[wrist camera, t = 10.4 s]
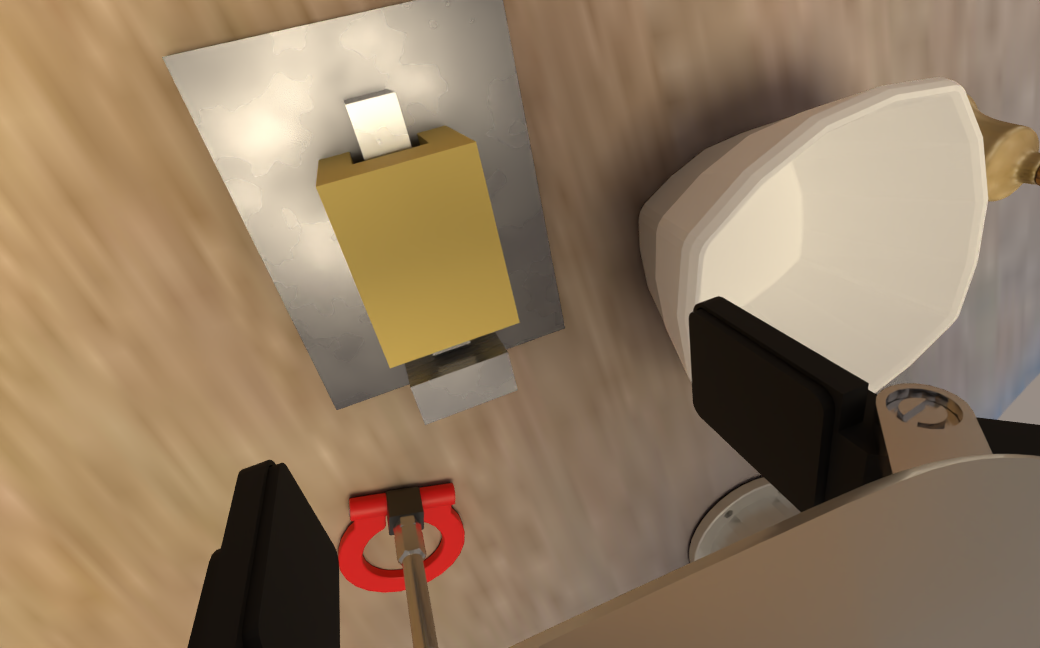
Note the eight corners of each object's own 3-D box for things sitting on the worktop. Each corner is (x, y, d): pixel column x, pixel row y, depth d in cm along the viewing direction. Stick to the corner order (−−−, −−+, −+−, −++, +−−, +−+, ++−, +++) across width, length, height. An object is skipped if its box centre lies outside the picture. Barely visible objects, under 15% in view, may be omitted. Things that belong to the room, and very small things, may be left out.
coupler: (494, -16, 23) (532, -35, 19) (559, 322, 32) (596, 363, 28) (167, 57, 21) (124, 55, 16) (336, 402, 30) (337, 461, 25)
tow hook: (458, 565, 40) (465, 474, 35) (506, 764, 29) (523, 667, 25) (341, 589, 37) (333, 493, 33) (346, 817, 26) (335, 719, 22)
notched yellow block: (445, 125, 25) (475, 141, 19) (485, 276, 28) (519, 322, 23) (318, 160, 23) (315, 186, 18) (378, 311, 27) (390, 368, 22)
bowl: (850, 271, 39) (986, 326, 31) (650, 399, 38) (736, 489, 30) (820, 23, 29) (1005, 7, 21) (554, 185, 28) (642, 233, 20)
